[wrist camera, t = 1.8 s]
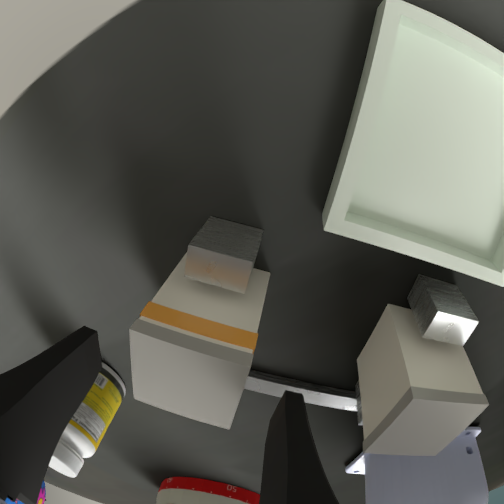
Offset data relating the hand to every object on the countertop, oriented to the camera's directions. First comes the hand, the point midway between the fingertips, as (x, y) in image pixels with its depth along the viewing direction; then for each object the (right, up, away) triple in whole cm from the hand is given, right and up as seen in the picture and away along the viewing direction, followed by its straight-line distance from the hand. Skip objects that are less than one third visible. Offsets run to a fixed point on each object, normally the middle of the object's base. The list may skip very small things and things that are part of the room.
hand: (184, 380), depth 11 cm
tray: (+11, +9, 0) cm, 14 cm away
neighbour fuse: (+11, 0, +5) cm, 12 cm away
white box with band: (+1, +2, +5) cm, 6 cm away
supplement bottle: (-9, -5, +11) cm, 15 cm away
